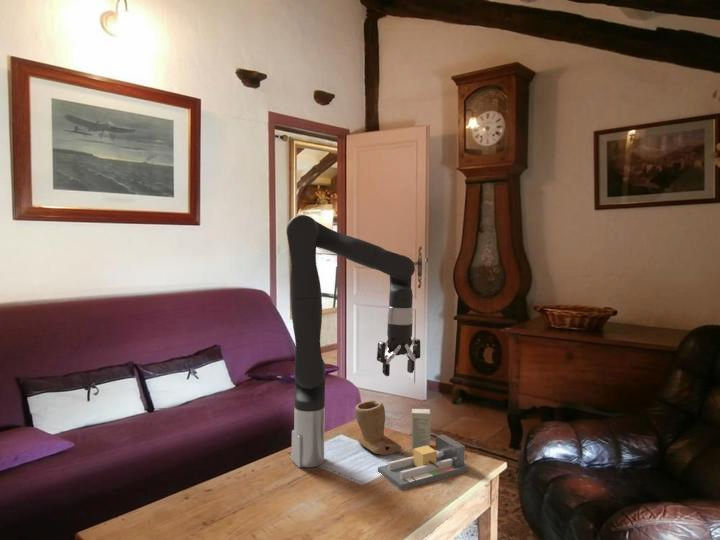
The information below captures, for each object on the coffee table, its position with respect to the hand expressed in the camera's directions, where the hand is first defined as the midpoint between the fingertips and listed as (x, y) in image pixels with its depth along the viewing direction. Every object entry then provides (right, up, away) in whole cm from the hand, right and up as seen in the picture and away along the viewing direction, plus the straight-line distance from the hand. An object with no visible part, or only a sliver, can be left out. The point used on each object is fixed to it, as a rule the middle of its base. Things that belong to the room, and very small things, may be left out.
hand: (398, 374), depth 159 cm
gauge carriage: (+10, -26, -5) cm, 29 cm away
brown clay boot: (-7, -27, +12) cm, 30 cm away
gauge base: (+7, -28, -4) cm, 29 cm away
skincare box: (+8, -27, +14) cm, 31 cm away
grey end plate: (+16, -26, 0) cm, 31 cm away
